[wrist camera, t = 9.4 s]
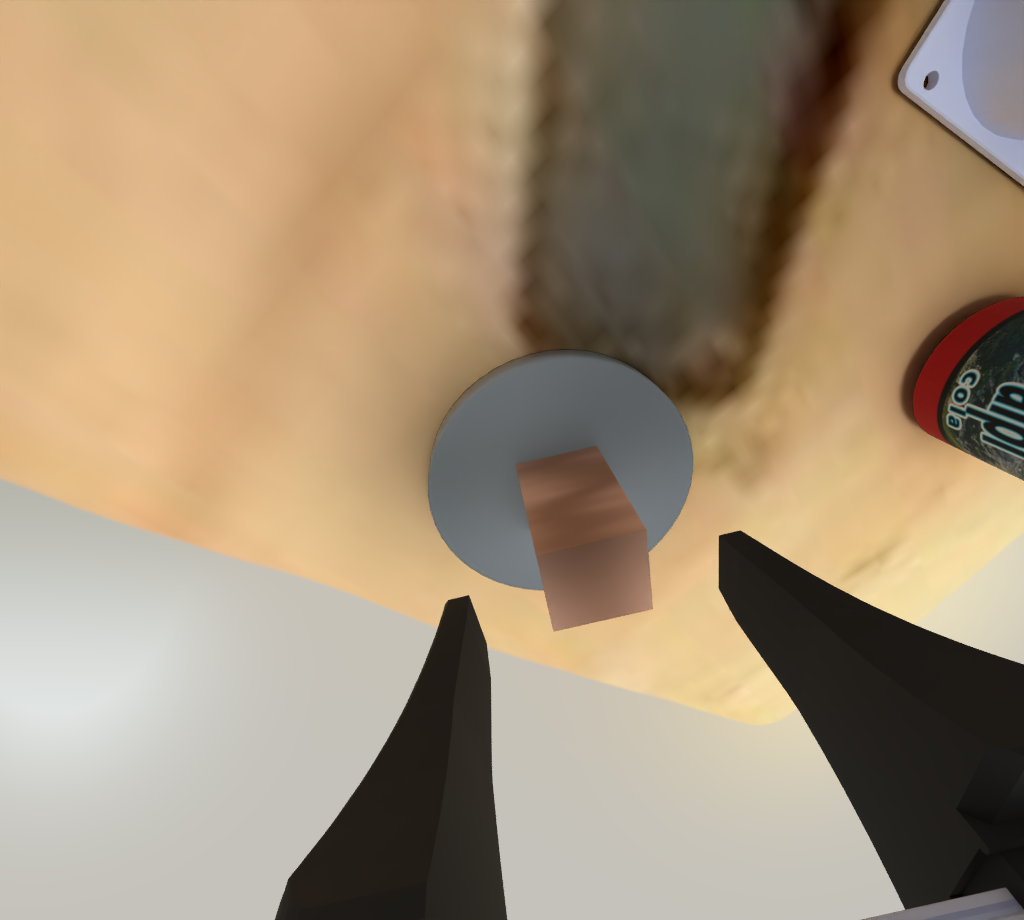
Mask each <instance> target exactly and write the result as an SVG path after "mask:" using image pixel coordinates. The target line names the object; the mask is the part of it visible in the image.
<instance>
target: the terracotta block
mask: <svg viewBox="0 0 1024 920" xmlns="http://www.w3.org/2000/svg"><path fill="white" fill-rule="evenodd" d="M516 469H517V474H518V478H519V483H520V487H521V492H522V496H523V500H524V505H525V509H526V514H527V518H528V523H529V527H530V532H531V536H532V540H533V545H534V549H535V554H536V558H537V562H538V567H539V571H540V575H541V580H542V584H543V588H544V592H545V597H546V601H547V605H548V609H549V614H550V618H551V622H552V627H553V631H559V630H563V629H567V628H572V627H576V626H581V625H585V624H589V623H594V622H598V621H602V620H607V619H611V618H616V617H620V616H624V615H629V614H633V613H638V612H642V611H646V610H651V609H653V606H652V593H651V581H650V568H649V555H648V542H647V530H646V528H645V526H644V525H643V523H642V521H641V520H640V518H639V516H638V515H637V513H636V511H635V509H634V508H633V506H632V504H631V503H630V501H629V499H628V498H627V496H626V494H625V493H624V491H623V489H622V487H621V486H620V484H619V482H618V481H617V479H616V477H615V476H614V474H613V472H612V471H611V469H610V467H609V465H608V464H607V462H606V460H605V459H604V457H603V455H602V454H601V452H600V450H599V449H598V447H597V446H594V447H589V448H585V449H581V450H576V451H572V452H568V453H563V454H559V455H555V456H550V457H546V458H542V459H537V460H533V461H529V462H524V463H520V464H516Z"/></svg>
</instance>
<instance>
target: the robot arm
mask: <svg viewBox="0 0 1024 920" xmlns="http://www.w3.org/2000/svg"><path fill="white" fill-rule="evenodd" d="M926 76H928V78H929V79H928V84H927V87H926V88H924V87H923V84H924V80H925V77H926ZM898 88H899V89H900V91H901V92H902V93H903V94H905V95H906V96H907V97H908V98H910V99H911V100H912V101H914V102H915V103H916V104H918V105H919V106H920V107H921V108H923V109H924V110H925V111H927V112H928V113H929V114H931V115H932V116H933V117H934V118H936V119H937V120H938V121H940V122H941V123H942V124H944V125H945V126H946V127H947V128H949V129H950V130H951V131H953V132H954V133H955V134H957V135H958V136H959V137H960V138H962V139H963V140H964V141H966V142H967V143H968V144H970V145H971V146H972V147H973V148H975V149H976V150H977V151H979V152H980V153H981V154H983V155H984V156H985V157H986V158H988V159H989V160H990V161H992V162H993V163H994V164H996V165H997V166H998V167H999V168H1001V169H1002V170H1003V171H1005V172H1006V173H1007V174H1008V175H1010V176H1011V177H1012V178H1014V179H1015V180H1016V181H1018V182H1019V183H1020V184H1021V185H1023V186H1024V0H945V1H944V2H943V4H942V5H941V7H940V8H939V10H938V12H937V13H936V15H935V16H934V18H933V20H932V21H931V23H930V24H929V26H928V27H927V29H926V31H925V32H924V34H923V35H922V37H921V39H920V40H919V42H918V43H917V45H916V46H915V48H914V50H913V51H912V53H911V54H910V56H909V58H908V59H907V61H906V62H905V64H904V66H903V67H902V69H901V71H900V73H899V77H898ZM719 590H720V592H721V593H722V595H723V597H724V599H725V601H726V603H727V605H728V607H729V609H730V610H731V612H732V614H733V616H734V617H735V619H736V621H737V623H738V624H739V625H740V627H741V628H742V630H743V631H744V633H745V634H746V635H747V637H748V638H749V640H750V641H751V643H752V644H753V645H754V647H755V648H756V650H757V651H758V652H759V654H760V655H761V657H762V658H763V659H764V661H765V662H766V664H767V665H768V666H769V668H770V669H771V671H772V672H773V674H774V675H775V676H776V678H777V679H778V681H779V682H780V683H781V685H782V686H783V688H784V689H785V690H786V692H787V693H788V695H789V696H790V698H791V699H792V701H793V702H794V704H795V705H796V707H797V708H798V710H799V711H800V713H801V715H802V716H803V718H804V720H805V722H806V723H807V725H808V727H809V728H810V730H811V732H812V734H813V735H814V737H815V739H816V740H817V742H818V744H819V745H820V747H821V749H822V751H823V752H824V754H825V756H826V758H827V760H828V762H829V763H830V765H831V767H832V768H833V770H834V772H835V774H836V776H837V777H838V779H839V781H840V783H841V785H842V787H843V788H844V790H845V792H846V794H847V796H848V797H849V800H850V801H851V803H852V805H853V807H854V809H855V811H856V813H857V815H858V817H859V819H860V820H861V822H862V824H863V826H864V828H865V830H866V832H867V834H868V835H869V837H870V839H871V841H872V843H873V845H874V847H875V849H876V851H877V853H878V855H879V857H880V859H881V861H882V863H883V865H884V867H885V869H886V871H887V873H888V875H889V877H890V879H891V881H892V883H893V885H894V887H895V889H896V891H897V893H898V895H899V898H900V900H901V902H902V904H903V906H904V908H905V910H903V911H898V912H894V913H890V914H885V915H880V916H876V917H871V918H867V919H862V920H1024V665H1023V664H1020V663H1017V662H1014V661H1011V660H1008V659H1005V658H1002V657H999V656H996V655H993V654H990V653H987V652H984V651H982V650H979V649H976V648H973V647H970V646H967V645H965V644H962V643H959V642H957V641H954V640H952V639H949V638H946V637H944V636H941V635H938V634H936V633H933V632H931V631H928V630H926V629H923V628H921V627H919V626H916V625H914V624H912V623H909V622H907V621H905V620H902V619H900V618H898V617H896V616H894V615H891V614H889V613H887V612H885V611H882V610H880V609H878V608H876V607H874V606H872V605H870V604H868V603H865V602H863V601H861V600H859V599H857V598H856V597H854V596H852V595H850V594H848V593H846V592H844V591H842V590H840V589H838V588H836V587H834V586H833V585H831V584H829V583H827V582H825V581H823V580H822V579H820V578H818V577H816V576H815V575H813V574H811V573H809V572H808V571H806V570H804V569H802V568H801V567H799V566H797V565H796V564H794V563H792V562H791V561H789V560H787V559H786V558H784V557H782V556H781V555H779V554H778V553H776V552H774V551H773V550H771V549H769V548H768V547H766V546H765V545H763V544H761V543H760V542H758V541H757V540H755V539H753V538H752V537H750V536H749V535H747V534H745V533H744V532H742V531H736V532H732V533H728V534H724V535H720V536H719ZM491 751H492V750H491V677H490V667H489V660H488V651H487V643H486V640H485V638H484V635H483V632H482V629H481V627H480V624H479V621H478V619H477V616H476V613H475V610H474V608H473V605H472V602H471V599H470V597H469V595H468V596H464V597H460V598H456V599H451V600H448V601H447V603H446V604H445V607H444V611H443V614H442V617H441V620H440V623H439V626H438V629H437V632H436V635H435V638H434V640H433V643H432V646H431V648H430V651H429V653H428V656H427V658H426V661H425V664H424V666H423V668H422V671H421V673H420V675H419V678H418V680H417V682H416V684H415V686H414V689H413V691H412V693H411V695H410V698H409V699H408V702H407V704H406V706H405V708H404V710H403V712H402V714H401V716H400V717H399V720H398V721H397V723H396V725H395V727H394V729H393V731H392V732H391V734H390V736H389V738H388V739H387V741H386V743H385V745H384V746H383V748H382V750H381V751H380V753H379V755H378V756H377V758H376V760H375V761H374V763H373V765H372V766H371V768H370V769H369V771H368V772H367V774H366V776H365V777H364V779H363V780H362V782H361V783H360V785H359V786H358V788H357V789H356V790H355V792H354V793H353V795H352V796H351V798H350V799H349V800H348V802H347V803H346V805H345V806H344V808H343V809H342V810H341V812H340V813H339V815H338V816H337V818H336V819H335V820H334V822H333V823H332V824H331V826H330V827H329V828H328V830H327V831H326V832H325V834H324V835H323V836H322V838H321V839H320V840H319V841H318V843H317V844H316V845H315V846H314V848H313V849H312V850H311V851H310V853H309V854H308V855H307V856H306V858H305V859H304V860H303V861H302V863H301V864H300V865H299V867H298V868H297V869H296V870H295V871H294V873H293V874H292V875H291V876H290V878H289V879H288V882H287V885H286V888H285V891H284V894H283V897H282V899H281V902H280V905H279V908H278V911H277V915H276V918H275V920H507V915H506V906H505V897H504V889H503V880H502V871H501V862H500V853H499V844H498V834H497V825H496V815H495V803H494V794H493V783H492V752H491Z"/></svg>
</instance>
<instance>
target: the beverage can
mask: <svg viewBox="0 0 1024 920" xmlns="http://www.w3.org/2000/svg"><path fill="white" fill-rule="evenodd" d="M913 410H914V415H915V418H916V420H917V422H918V424H919V425H920V427H921V428H922V429H923V430H924V431H925V432H927V433H928V434H930V435H931V436H933V437H935V438H937V439H939V440H941V441H943V442H945V443H948V444H950V445H952V446H954V447H956V448H958V449H960V450H962V451H964V452H966V453H968V454H970V455H972V456H974V457H976V458H978V459H980V460H982V461H984V462H986V463H988V464H990V465H992V466H994V467H997V468H999V469H1001V470H1003V471H1005V472H1007V473H1009V474H1011V475H1013V476H1015V477H1017V478H1019V479H1021V480H1024V297H1016V298H1011V299H1007V300H1003V301H1000V302H997V303H995V304H993V305H990V306H988V307H986V308H984V309H982V310H980V311H979V312H977V313H975V314H973V315H972V316H970V317H969V318H967V319H966V320H965V321H963V322H962V323H961V324H959V325H958V326H957V327H956V328H955V329H954V330H952V331H951V332H950V333H949V334H948V335H947V336H946V337H945V338H944V339H943V340H942V342H941V343H940V344H939V345H938V346H937V347H936V349H935V350H934V351H933V353H932V354H931V355H930V357H929V358H928V360H927V362H926V363H925V365H924V367H923V369H922V371H921V373H920V375H919V377H918V380H917V383H916V386H915V390H914V396H913Z"/></svg>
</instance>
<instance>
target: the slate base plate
mask: <svg viewBox="0 0 1024 920" xmlns="http://www.w3.org/2000/svg"><path fill="white" fill-rule="evenodd" d="M594 446H597V447H598V449H599V450H600V452H601V454H602V455H603V457H604V459H605V460H606V462H607V464H608V465H609V467H610V469H611V471H612V472H613V474H614V476H615V477H616V479H617V481H618V482H619V484H620V486H621V487H622V489H623V491H624V493H625V494H626V496H627V498H628V499H629V501H630V503H631V504H632V506H633V508H634V509H635V511H636V513H637V515H638V516H639V518H640V520H641V521H642V523H643V525H644V526H645V528H646V530H647V542H648V552H649V551H650V550H652V549H653V548H654V547H655V546H656V544H657V543H658V542H659V541H660V540H661V539H662V538H663V537H664V536H665V535H666V533H667V532H668V531H669V529H670V528H671V527H672V525H673V524H674V522H675V521H676V519H677V517H678V516H679V514H680V512H681V510H682V508H683V506H684V503H685V501H686V499H687V495H688V492H689V489H690V486H691V479H692V473H693V452H692V444H691V439H690V436H689V433H688V429H687V426H686V424H685V422H684V420H683V418H682V416H681V414H680V412H679V411H678V410H677V408H676V407H675V405H674V404H673V403H672V401H671V400H670V399H669V398H668V397H667V396H666V395H665V394H664V393H663V392H662V391H661V390H660V389H659V388H658V387H657V386H656V385H655V384H654V383H652V382H651V381H650V380H649V379H648V378H647V377H646V376H644V375H643V374H641V373H640V372H639V371H637V370H636V369H635V368H633V367H631V366H630V365H628V364H626V363H624V362H622V361H620V360H618V359H615V358H612V357H609V356H606V355H604V354H600V353H595V352H590V351H585V350H568V349H565V350H551V351H544V352H539V353H534V354H530V355H527V356H524V357H521V358H518V359H515V360H512V361H510V362H508V363H506V364H504V365H502V366H500V367H498V368H496V369H494V370H492V371H491V372H489V373H488V374H486V375H485V376H483V377H482V378H480V379H479V380H478V381H477V382H475V383H474V384H473V385H472V386H471V387H470V388H468V389H467V390H466V391H465V392H464V393H463V394H462V396H461V397H460V398H459V399H458V400H457V401H456V402H455V404H454V405H453V406H452V408H451V409H450V411H449V412H448V414H447V415H446V417H445V418H444V420H443V422H442V424H441V427H440V429H439V431H438V433H437V436H436V439H435V442H434V445H433V449H432V455H431V462H430V470H429V479H428V497H429V503H430V510H431V513H432V516H433V519H434V522H435V525H436V527H437V529H438V531H439V533H440V535H441V537H442V539H443V540H444V541H445V543H446V544H447V546H448V547H449V548H450V550H451V551H452V552H453V553H454V554H455V555H456V556H457V557H458V558H459V559H460V560H461V561H462V562H464V563H465V564H466V565H467V566H469V567H470V568H471V569H473V570H475V571H476V572H478V573H480V574H481V575H483V576H485V577H487V578H489V579H492V580H494V581H496V582H499V583H502V584H506V585H509V586H513V587H518V588H523V589H531V590H544V588H543V584H542V580H541V575H540V571H539V567H538V562H537V558H536V554H535V549H534V545H533V540H532V536H531V532H530V527H529V523H528V518H527V514H526V509H525V505H524V500H523V496H522V492H521V487H520V483H519V478H518V474H517V469H516V464H520V463H524V462H529V461H533V460H537V459H542V458H546V457H550V456H555V455H559V454H563V453H568V452H572V451H576V450H581V449H585V448H589V447H594Z"/></svg>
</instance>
